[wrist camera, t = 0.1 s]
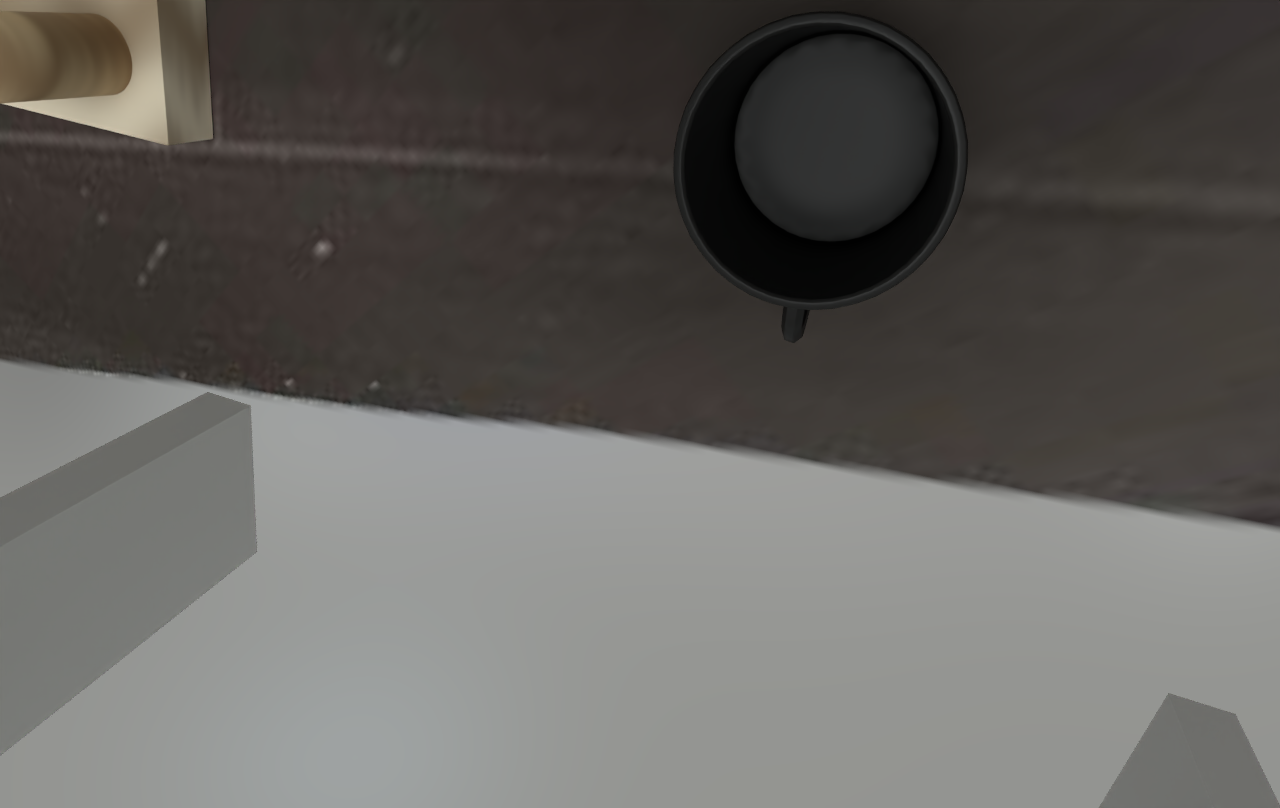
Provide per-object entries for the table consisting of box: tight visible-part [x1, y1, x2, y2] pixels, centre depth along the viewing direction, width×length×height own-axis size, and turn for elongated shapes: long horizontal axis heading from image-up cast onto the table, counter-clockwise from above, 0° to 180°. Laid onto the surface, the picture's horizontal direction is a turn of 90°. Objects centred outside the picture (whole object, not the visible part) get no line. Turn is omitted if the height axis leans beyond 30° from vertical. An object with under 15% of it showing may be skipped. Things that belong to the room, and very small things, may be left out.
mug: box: [674, 12, 968, 343], centre depth 32 cm, size 9×12×9 cm
